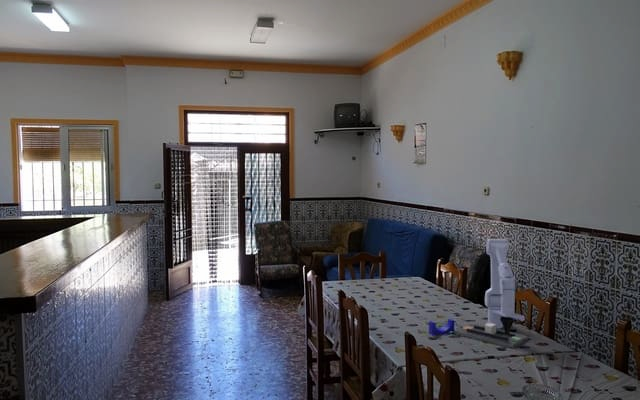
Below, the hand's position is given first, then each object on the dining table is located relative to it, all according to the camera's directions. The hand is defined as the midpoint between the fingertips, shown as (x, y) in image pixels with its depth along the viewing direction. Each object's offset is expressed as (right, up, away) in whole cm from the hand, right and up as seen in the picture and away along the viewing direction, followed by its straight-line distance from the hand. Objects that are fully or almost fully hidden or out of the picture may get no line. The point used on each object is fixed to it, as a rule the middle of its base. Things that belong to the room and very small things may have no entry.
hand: (507, 333), depth 227 cm
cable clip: (-27, -3, +13) cm, 30 cm away
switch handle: (-6, -2, +6) cm, 8 cm away
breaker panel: (-6, -3, +6) cm, 9 cm away
